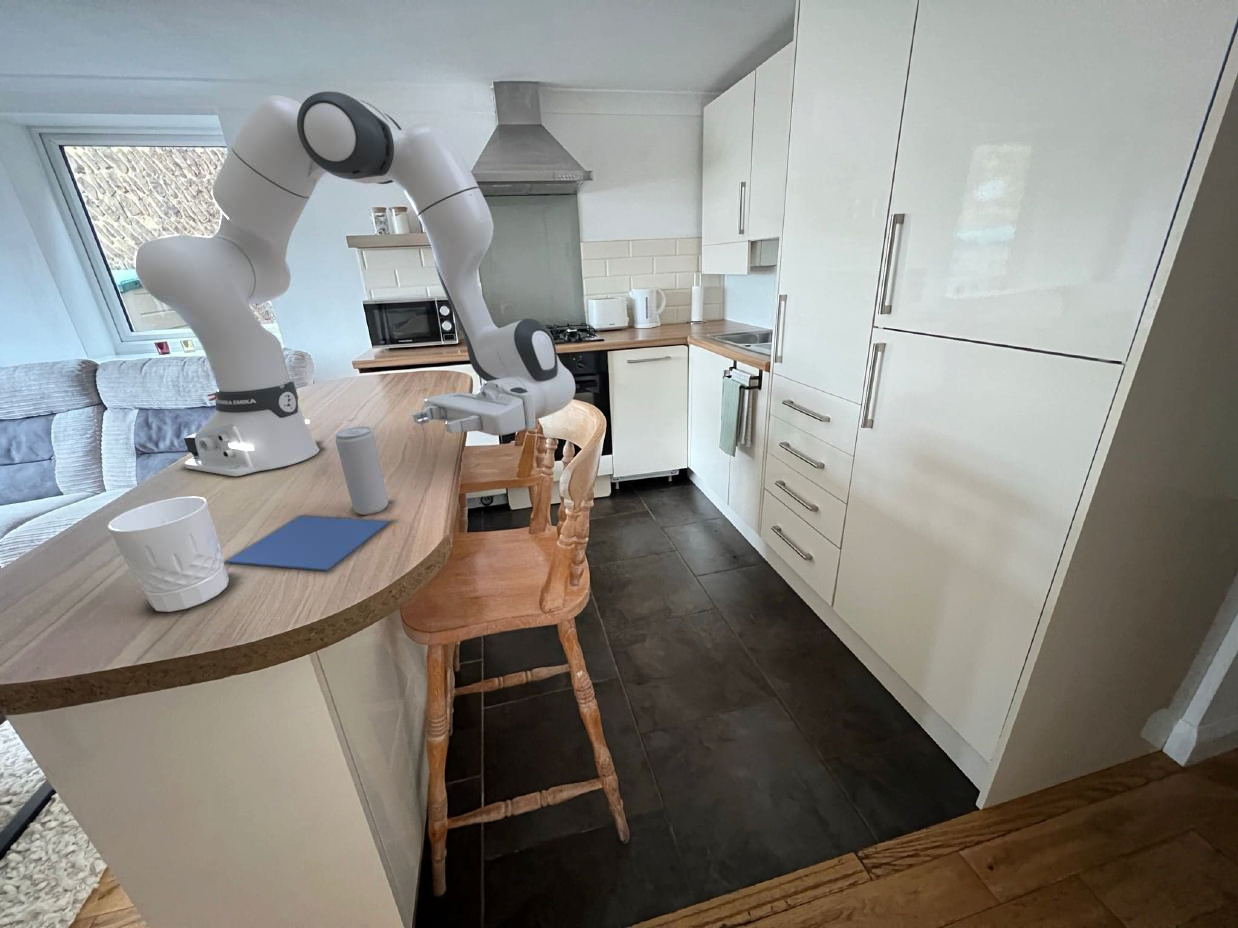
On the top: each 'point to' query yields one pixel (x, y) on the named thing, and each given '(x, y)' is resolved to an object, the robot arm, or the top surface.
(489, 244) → the robot arm
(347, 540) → the blue cloth
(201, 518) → the white cup
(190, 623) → the top surface
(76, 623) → the top surface
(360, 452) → the beverage can
